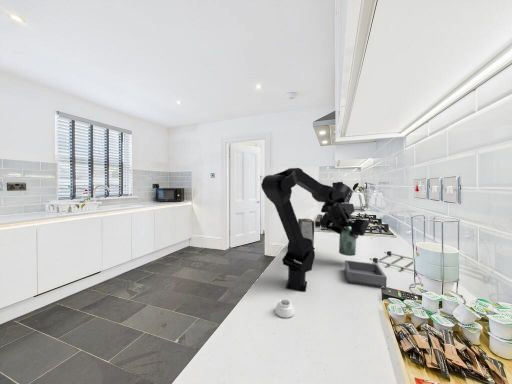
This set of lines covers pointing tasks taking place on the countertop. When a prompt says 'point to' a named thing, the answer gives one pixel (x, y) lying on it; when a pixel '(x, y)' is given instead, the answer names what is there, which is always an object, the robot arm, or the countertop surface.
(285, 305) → the white jar
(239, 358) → the countertop surface
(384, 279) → the tray
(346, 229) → the spout can
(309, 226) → the coffee box
